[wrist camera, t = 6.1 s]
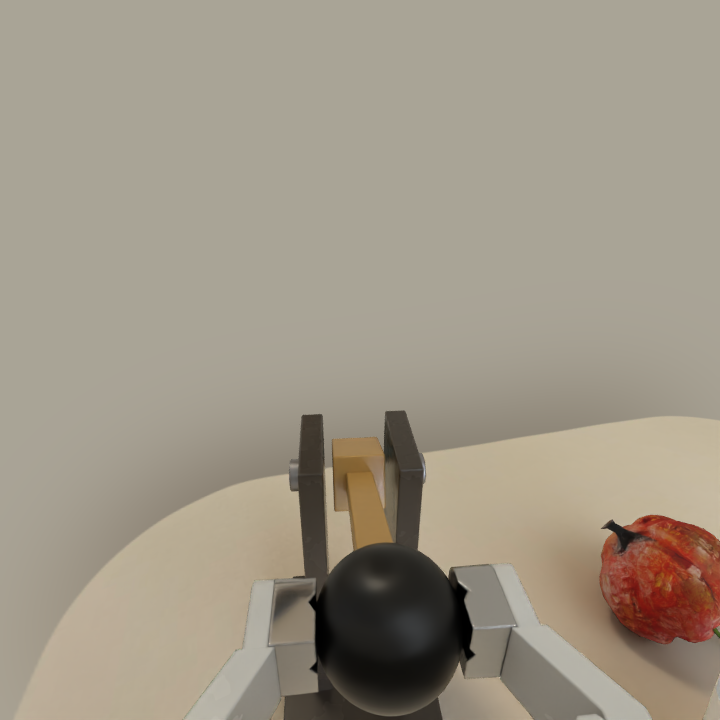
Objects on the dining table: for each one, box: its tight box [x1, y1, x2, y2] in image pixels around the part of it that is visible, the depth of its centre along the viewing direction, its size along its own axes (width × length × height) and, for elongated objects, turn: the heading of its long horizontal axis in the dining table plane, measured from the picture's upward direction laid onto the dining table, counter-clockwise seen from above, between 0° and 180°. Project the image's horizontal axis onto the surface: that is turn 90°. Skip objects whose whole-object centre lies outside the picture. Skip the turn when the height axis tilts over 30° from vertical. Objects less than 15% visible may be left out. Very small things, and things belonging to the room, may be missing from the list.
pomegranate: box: [599, 515, 720, 644], centre depth 27 cm, size 7×7×10 cm
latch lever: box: [315, 437, 463, 716], centre depth 15 cm, size 13×3×3 cm, turn 5°
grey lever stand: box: [284, 411, 443, 720], centre depth 23 cm, size 10×8×16 cm
